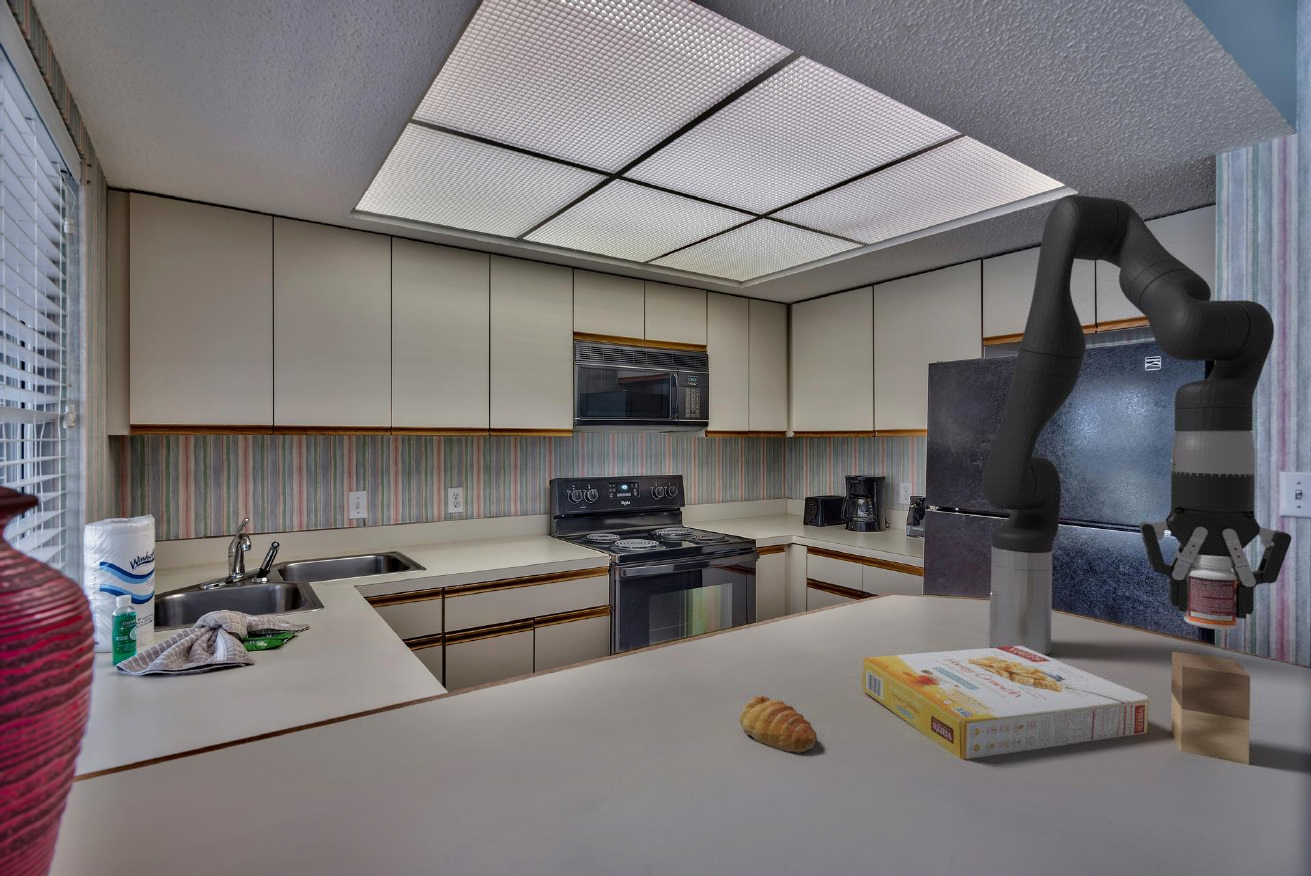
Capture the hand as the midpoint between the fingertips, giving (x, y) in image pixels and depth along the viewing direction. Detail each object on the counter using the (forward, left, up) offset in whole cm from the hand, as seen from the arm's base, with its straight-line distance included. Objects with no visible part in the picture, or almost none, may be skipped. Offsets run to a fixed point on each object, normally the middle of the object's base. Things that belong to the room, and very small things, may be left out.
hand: (1210, 612), depth 77 cm
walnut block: (0, 0, -11) cm, 11 cm away
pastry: (-45, -24, -16) cm, 53 cm away
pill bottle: (0, 0, -2) cm, 2 cm away
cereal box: (-22, -2, -17) cm, 28 cm away
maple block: (0, 0, -16) cm, 16 cm away
